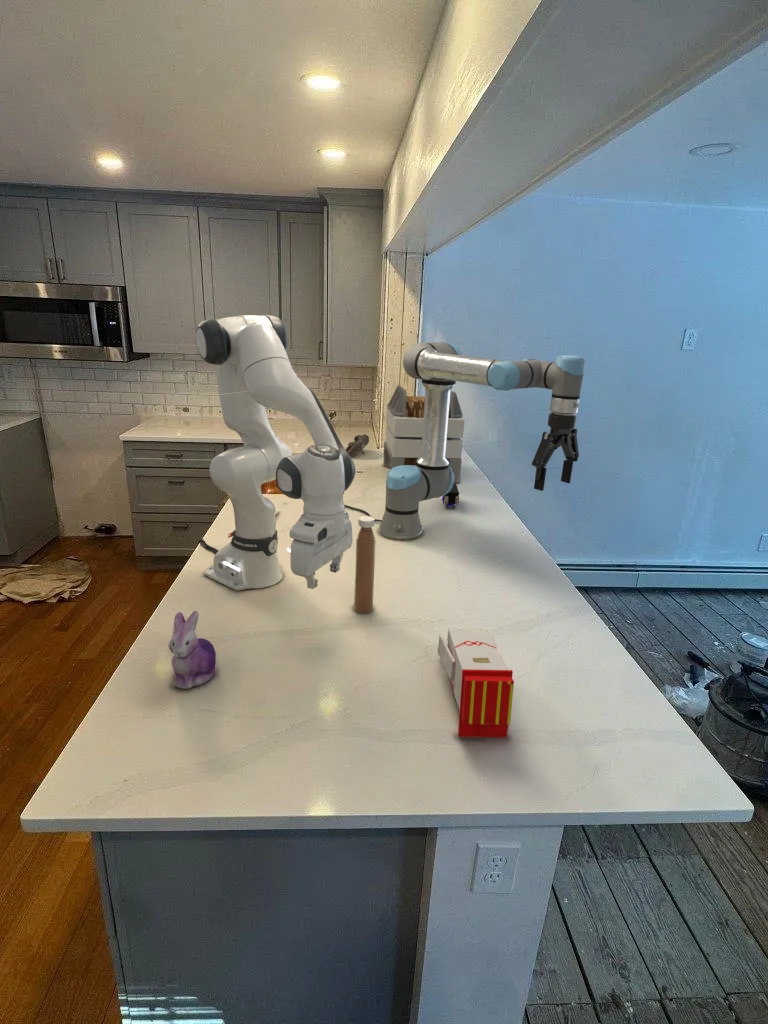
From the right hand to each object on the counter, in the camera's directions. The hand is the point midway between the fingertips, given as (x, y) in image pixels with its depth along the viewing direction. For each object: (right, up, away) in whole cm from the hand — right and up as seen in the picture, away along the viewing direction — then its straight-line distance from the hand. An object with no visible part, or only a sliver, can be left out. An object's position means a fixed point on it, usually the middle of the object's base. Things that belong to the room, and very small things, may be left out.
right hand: (552, 485), depth 166 cm
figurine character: (-22, -5, +67) cm, 70 cm away
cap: (-54, -10, -24) cm, 60 cm away
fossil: (-64, +24, +140) cm, 156 cm away
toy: (-31, -45, -47) cm, 72 cm away
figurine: (-89, -42, -46) cm, 109 cm away
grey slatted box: (-32, +11, +109) cm, 115 cm away
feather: (-89, -9, +46) cm, 101 cm away
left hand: (-63, -23, -39) cm, 77 cm away
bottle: (-55, -33, -16) cm, 66 cm away
